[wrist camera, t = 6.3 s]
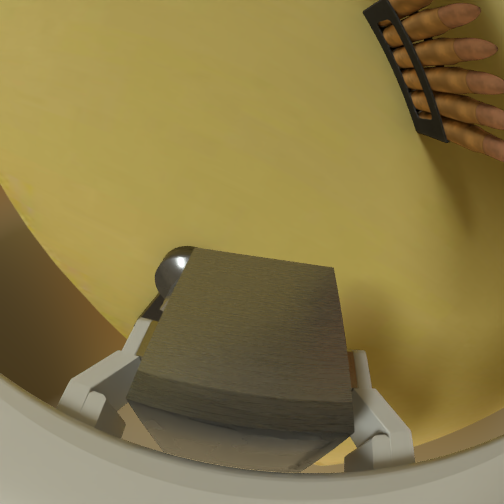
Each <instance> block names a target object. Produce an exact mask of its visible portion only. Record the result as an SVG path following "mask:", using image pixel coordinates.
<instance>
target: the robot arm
mask: <svg viewBox="0 0 504 504" xmlns="http://www.w3.org/2000/svg"><path fill="white" fill-rule="evenodd" d="M157 324H158V321H154V320H151V319H146V318H142V317H140V318H139V319H138V320H137V322H136V324H135V326H134V328H133V330H132V332H131V334H130V336H129V338H128V340H127V341H126V344H125V345H124V347H123V349H122V351H119V350H118V351H116V352H115V353H113V354H111V355H110V356H108V357H107V358H105V359H103V360H102V361H100V362H98V363H97V364H95V365H94V366H92V367H91V368H89V369H87V370H85V371H84V372H82V373H81V374H79V375H77V376H76V377H74V378H72V379H71V380H70V382H69V384H68V386H67V387H66V389H65V391H64V393H63V395H62V397H61V399H60V402H59V403H58V406H57V408H54V407H52V406H50V405H48V404H47V403H45V402H43V401H41V400H40V399H38V398H36V397H35V396H33V395H32V394H30V393H29V392H27V391H25V390H24V389H22V388H21V387H19V386H18V385H16V384H15V383H13V382H12V381H10V380H9V379H8V378H6V377H5V376H3V375H2V374H1V373H0V504H504V435H502V436H499V437H497V438H494V439H492V440H489V441H487V442H484V443H482V444H479V445H476V446H474V447H471V448H468V449H465V450H462V451H458V452H455V453H452V454H449V455H445V456H441V457H438V458H434V459H430V460H426V461H422V462H417V463H415V458H414V449H413V441H412V434H411V430H410V429H409V428H408V427H407V425H406V424H405V423H404V422H403V421H402V419H401V418H400V417H399V416H398V415H397V413H396V412H395V411H394V410H393V409H392V408H391V406H390V405H389V404H388V403H387V402H386V400H385V399H384V398H383V397H382V396H381V394H380V393H379V392H378V391H377V390H376V389H375V388H372V385H371V379H370V373H369V367H368V361H367V356H366V352H365V351H364V350H351V349H347V355H348V363H349V372H350V381H351V391H352V403H353V415H354V430H355V432H354V433H353V434H352V435H351V436H350V437H351V439H352V440H353V442H354V443H355V445H356V447H357V449H355V450H354V451H352V452H351V453H349V454H348V455H346V456H345V457H344V469H345V470H344V472H342V473H281V472H266V471H257V470H247V469H240V468H233V467H226V466H220V465H215V464H209V463H204V462H199V461H194V460H190V459H186V458H182V457H178V456H174V455H170V454H166V453H163V452H160V451H156V450H153V449H150V448H147V447H143V446H141V445H138V444H135V443H132V442H129V441H126V440H123V439H121V437H122V434H123V431H124V428H125V425H126V424H125V422H124V420H123V419H122V418H121V416H120V415H119V414H118V413H117V411H118V410H119V409H120V408H121V407H123V406H124V405H125V404H127V402H128V401H127V399H126V396H127V394H128V391H129V389H130V386H131V384H132V381H133V379H134V377H135V374H136V372H137V370H138V367H139V365H140V363H141V360H142V358H143V356H144V353H145V351H146V349H147V346H148V344H149V342H150V340H151V338H152V335H153V333H154V331H155V329H156V326H157Z"/></svg>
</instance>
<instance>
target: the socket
mask: <svg viewBox="0 0 504 504" xmlns="http://www.w3.org/2000/svg"><path fill="white" fill-rule="evenodd" d="M126 399H127V401H128V403H129V404H130V406H131V407H132V408H133V410H134V412H135V413H136V415H137V416H138V418H139V419H140V421H141V422H142V423H143V425H144V426H145V428H146V429H147V430H148V432H149V433H150V435H151V436H152V437H153V438H154V440H155V441H156V442H157V444H158V445H159V446H160V448H161V449H162V450H163V452H166V453H170V454H174V455H177V456H181V457H186V458H190V459H195V460H199V461H204V462H209V463H214V464H220V465H225V466H232V467H240V468H246V469H255V470H266V471H279V472H301V471H303V470H304V469H306V468H307V467H309V466H310V465H312V464H313V463H315V462H316V461H318V460H319V459H320V458H322V457H323V456H325V455H326V454H327V453H329V452H330V451H331V450H333V449H334V448H335V447H337V446H338V445H339V444H341V443H342V442H343V441H344V440H346V439H347V438H348V437H349V436H351V435H352V434H353V433H354V432H355V430H354V415H353V403H352V391H351V381H350V372H349V363H348V355H347V348H346V340H345V333H344V326H343V320H342V313H341V307H340V301H339V295H338V289H337V284H336V278H335V273H334V268H332V267H325V266H318V265H311V264H304V263H297V262H290V261H284V260H277V259H270V258H263V257H256V256H249V255H242V254H236V253H229V252H222V251H215V250H208V249H202V248H194V250H193V252H192V254H191V256H190V258H189V260H188V262H187V264H186V266H185V268H184V270H183V272H182V274H181V276H180V278H179V280H178V282H177V284H176V286H175V288H174V290H173V292H172V294H171V297H170V299H169V301H168V303H167V305H166V307H165V309H164V311H163V313H162V316H161V318H160V320H159V322H158V324H157V326H156V329H155V331H154V333H153V335H152V338H151V340H150V342H149V344H148V346H147V349H146V351H145V353H144V356H143V358H142V360H141V363H140V365H139V367H138V370H137V372H136V374H135V377H134V379H133V381H132V384H131V386H130V389H129V391H128V394H127V396H126Z"/></svg>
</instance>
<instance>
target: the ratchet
mask: <svg viewBox="0 0 504 504" xmlns="http://www.w3.org/2000/svg"><path fill="white" fill-rule="evenodd" d="M194 248H197V247H192V246H182V247H178V248H175V249H173V250H171V251H170V252H169V253H168V254H167V255H166V256H165V258H164V259H163V261H162V262H161V264H160V265H159V267H158V269H157V271H156V274H155V284H156V287H157V289H158V291H159V293H158V294H157V295H156V297H155V298H154V299H153V300H152V302H151V303H150V304H149V305H148V306H147V308H146V309H145V310H144V311H143V313H142V314H141V315H140V316H139V318H140V317H142V318H146V319H151V320H154V321H158V322H159V320H160V318H161V316H162V313H163V311H164V309H165V307H166V305H167V303H168V301H169V299H170V297H171V294H172V292H173V290H174V288H175V286H176V284H177V282H178V280H179V278H180V276H181V274H182V272H183V270H184V268H185V266H186V264H187V262H188V260H189V258H190V256H191V254H192V252H193V250H194ZM139 318H138V319H139ZM138 319H137V320H138ZM136 322H137V321H136ZM135 324H136V323H135ZM134 326H135V325H134Z"/></svg>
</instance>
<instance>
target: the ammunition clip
mask: <svg viewBox="0 0 504 504" xmlns="http://www.w3.org/2000/svg"><path fill="white" fill-rule="evenodd" d="M432 1H433V0H379V1H377V2H376V3H374V4H373V5H371V6H370V7H369V8H367V9H366V10H364V11H363V14H364V16H365V17H366V19H367V21H368V23H369V24H370V26H371V28H372V30H373V31H374V33H375V35H376V37H377V39H378V41H379V43H380V44H381V46H382V48H383V50H384V52H385V54H386V56H387V59H388V61H389V63H390V65H391V67H392V69H393V72H394V74H395V76H396V78H397V81H398V83H399V85H400V88H401V90H402V93H403V95H404V98H405V101H406V103H407V106H408V109H409V111H410V114H411V117H412V120H413V123H414V126H415V129H416V131H417V132H418V133H420V134H423V135H426V136H429V137H432V138H434V139H437V140H440V141H442V142H445V143H448V142H450V141H452V142H454V143H456V144H458V145H461V146H463V147H465V148H467V149H469V150H471V151H474V152H479V153H483V154H485V155H488V156H491V157H493V158H495V159H497V160H499V161H502V162H504V141H503V140H502V139H500V138H498V137H495V136H493V135H492V134H490V133H488V132H486V131H484V130H483V129H482V128H480V127H479V126H476V125H474V124H473V123H476V124H480V125H485V126H488V127H491V128H495V129H502V130H504V111H503V110H501V109H499V108H497V107H495V106H492V105H489V104H485V103H483V102H480V101H476V100H475V99H473V98H470V97H468V96H464V95H458V94H467V93H474V94H478V93H479V94H501V93H504V80H503V79H501V78H499V77H497V76H495V75H492V74H489V73H485V72H480V71H473V70H465V69H463V68H460V67H444V65H454V64H456V63H458V62H464V61H471V60H480V59H484V58H487V57H490V56H492V55H494V54H495V53H496V52H497V51H498V47H497V46H496V45H494V44H493V43H491V42H489V41H486V40H482V39H477V38H453V39H450V38H437V39H432V37H434V36H438V35H441V34H443V33H445V32H447V31H448V30H450V29H453V28H456V27H459V26H462V25H465V24H467V23H470V22H471V21H473V20H474V19H476V18H477V17H478V16H479V14H480V13H481V9H480V8H479V7H478V6H475V5H472V4H466V3H456V4H450V5H446V6H443V7H438V8H434V9H425V10H423V11H420V12H418V10H420V9H422V8H424V7H426V6H428V5H429V4H430V3H431V2H432ZM406 16H409V17H407V18H405V19H403V20H401V21H400V19H402V18H404V17H406ZM423 39H424V41H423V42H419V43H415V44H412V42H416V41H419V40H423ZM424 66H435V67H424ZM423 67H424V68H423Z"/></svg>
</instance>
